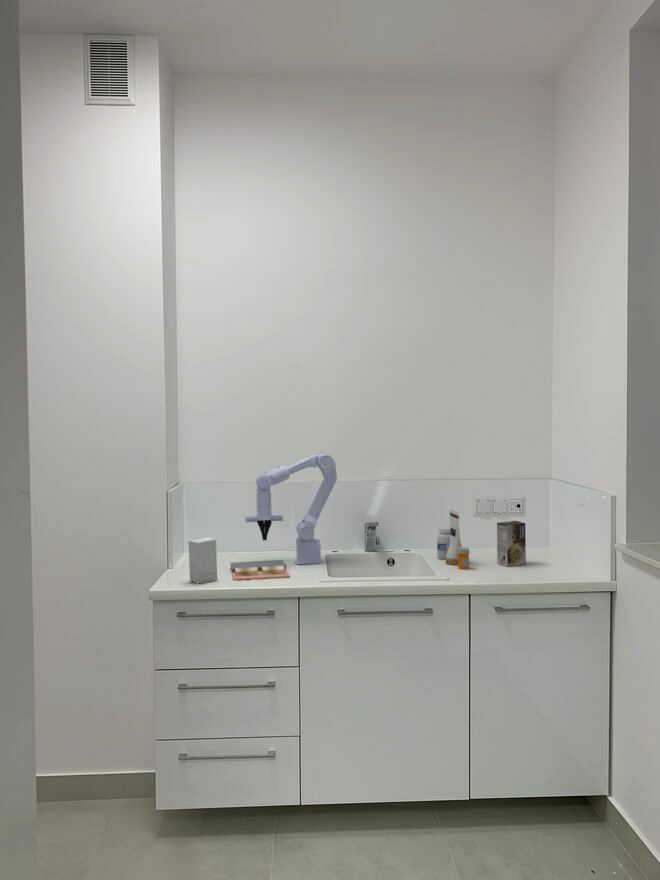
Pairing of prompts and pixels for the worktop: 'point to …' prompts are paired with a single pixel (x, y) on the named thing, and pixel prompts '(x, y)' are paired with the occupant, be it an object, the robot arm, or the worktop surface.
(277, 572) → the inner tile
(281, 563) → the grey board
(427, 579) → the worktop surface
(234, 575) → the mat
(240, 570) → the outer tile
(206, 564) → the skincare box
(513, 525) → the coffee box
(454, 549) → the toiletry set
